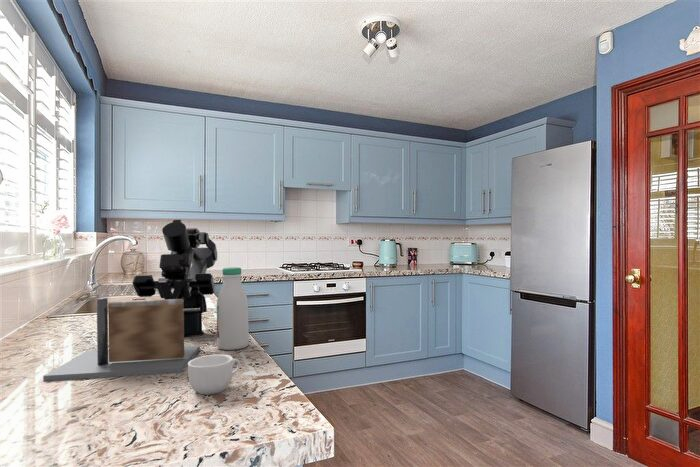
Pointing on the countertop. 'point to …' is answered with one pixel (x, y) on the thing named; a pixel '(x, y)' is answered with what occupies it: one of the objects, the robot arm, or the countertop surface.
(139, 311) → the panel
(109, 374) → the board
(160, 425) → the countertop surface
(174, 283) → the robot arm
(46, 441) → the countertop surface
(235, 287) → the milk bottle
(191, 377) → the teacup
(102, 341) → the hinge post
